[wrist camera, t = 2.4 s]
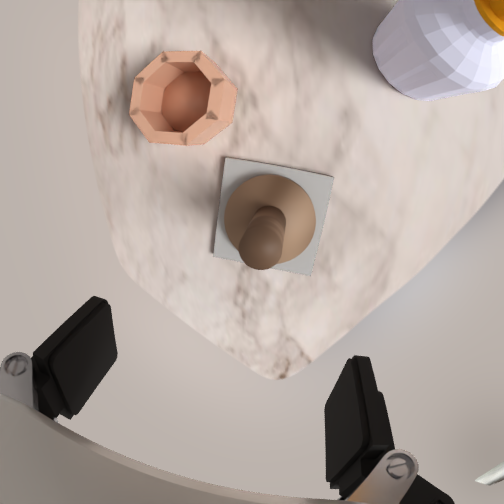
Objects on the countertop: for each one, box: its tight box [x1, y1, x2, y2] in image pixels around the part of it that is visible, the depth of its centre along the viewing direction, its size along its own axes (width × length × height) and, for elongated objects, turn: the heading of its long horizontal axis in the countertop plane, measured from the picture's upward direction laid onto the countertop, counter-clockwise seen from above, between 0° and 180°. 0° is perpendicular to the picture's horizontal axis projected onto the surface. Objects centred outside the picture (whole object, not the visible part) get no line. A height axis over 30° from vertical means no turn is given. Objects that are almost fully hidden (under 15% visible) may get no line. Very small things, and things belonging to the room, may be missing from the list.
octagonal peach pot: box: [129, 51, 238, 146], centre depth 22 cm, size 8×8×5 cm
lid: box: [224, 174, 316, 270], centre depth 24 cm, size 8×8×8 cm
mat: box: [213, 157, 334, 276], centre depth 28 cm, size 10×10×1 cm
